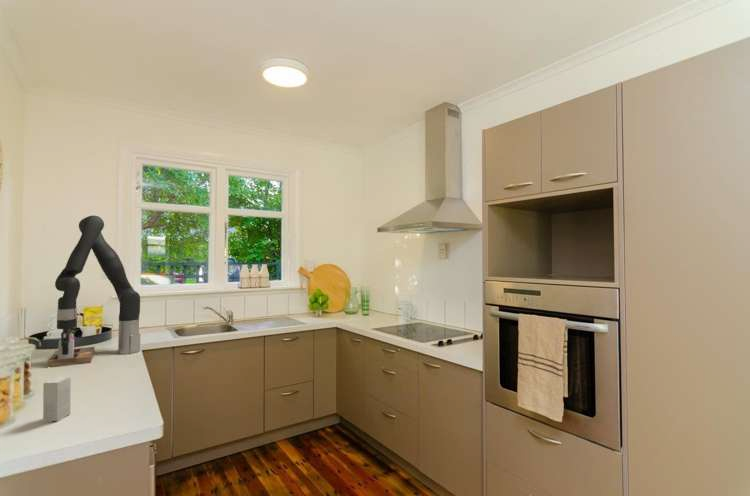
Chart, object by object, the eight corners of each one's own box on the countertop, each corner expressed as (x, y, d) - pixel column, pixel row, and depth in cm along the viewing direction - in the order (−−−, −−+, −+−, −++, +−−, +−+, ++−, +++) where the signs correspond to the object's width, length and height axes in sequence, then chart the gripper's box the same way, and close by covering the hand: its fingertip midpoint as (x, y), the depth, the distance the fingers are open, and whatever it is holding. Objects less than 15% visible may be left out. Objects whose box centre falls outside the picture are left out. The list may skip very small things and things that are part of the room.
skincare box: (56, 414, 124) (57, 376, 125) (70, 414, 125) (71, 376, 125) (41, 422, 118) (42, 382, 119) (56, 422, 119) (57, 382, 119)
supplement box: (73, 363, 187) (73, 339, 187) (57, 365, 184) (57, 340, 184) (74, 360, 192) (74, 337, 192) (58, 362, 189) (59, 338, 189)
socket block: (55, 356, 200) (56, 349, 200) (94, 352, 209) (94, 346, 209) (47, 367, 179) (47, 360, 179) (90, 362, 188) (90, 355, 188)
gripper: (59, 317, 192) (58, 351, 192) (54, 320, 180) (53, 357, 180) (78, 315, 196) (77, 349, 196) (75, 319, 184) (74, 355, 184)
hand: (66, 352), depth 188 cm, fingers open, 6 cm apart
